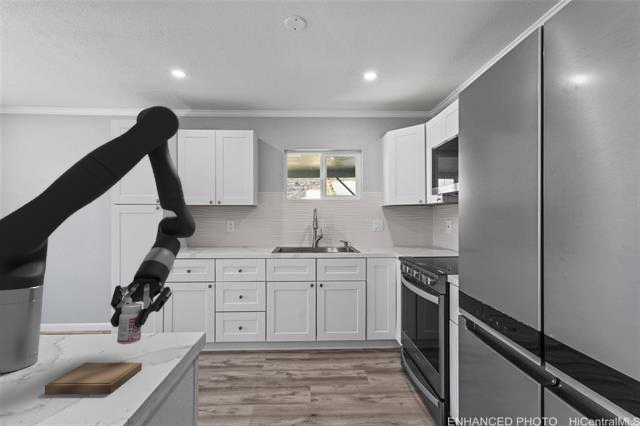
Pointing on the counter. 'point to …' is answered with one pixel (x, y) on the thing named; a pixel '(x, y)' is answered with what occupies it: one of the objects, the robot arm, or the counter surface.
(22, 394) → the counter surface
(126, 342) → the pill bottle
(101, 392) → the walnut tray
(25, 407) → the counter surface
